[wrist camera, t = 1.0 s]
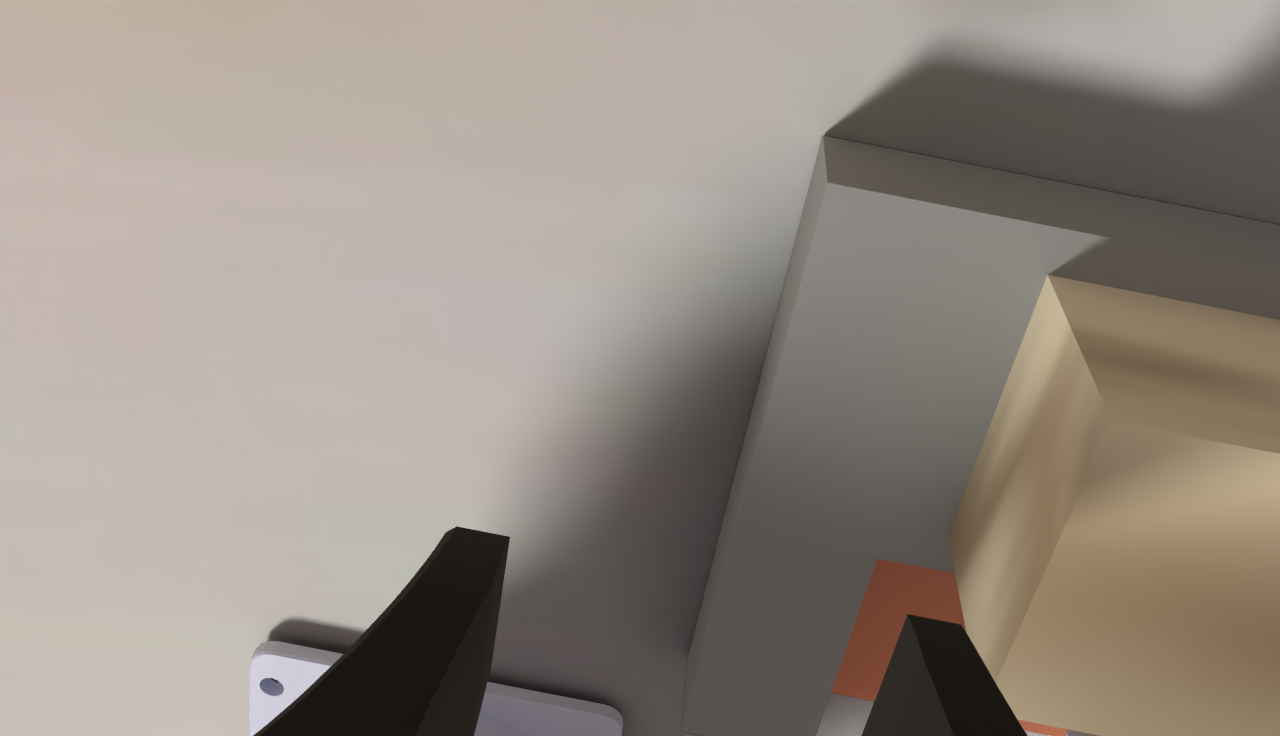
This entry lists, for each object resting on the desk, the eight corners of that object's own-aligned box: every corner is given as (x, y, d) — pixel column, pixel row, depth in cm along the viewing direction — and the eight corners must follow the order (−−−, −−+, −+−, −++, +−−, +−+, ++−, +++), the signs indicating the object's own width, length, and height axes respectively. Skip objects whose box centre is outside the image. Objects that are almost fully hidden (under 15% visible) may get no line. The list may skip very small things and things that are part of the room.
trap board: (1562, 827, 25) (1668, 985, 22) (687, 658, 25) (675, 794, 22) (1962, 358, 19) (2178, 487, 16) (822, 135, 19) (831, 223, 16)
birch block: (1236, 592, 21) (1329, 780, 17) (947, 536, 21) (982, 712, 17) (1378, 339, 18) (1521, 500, 15) (1047, 274, 18) (1111, 420, 15)
